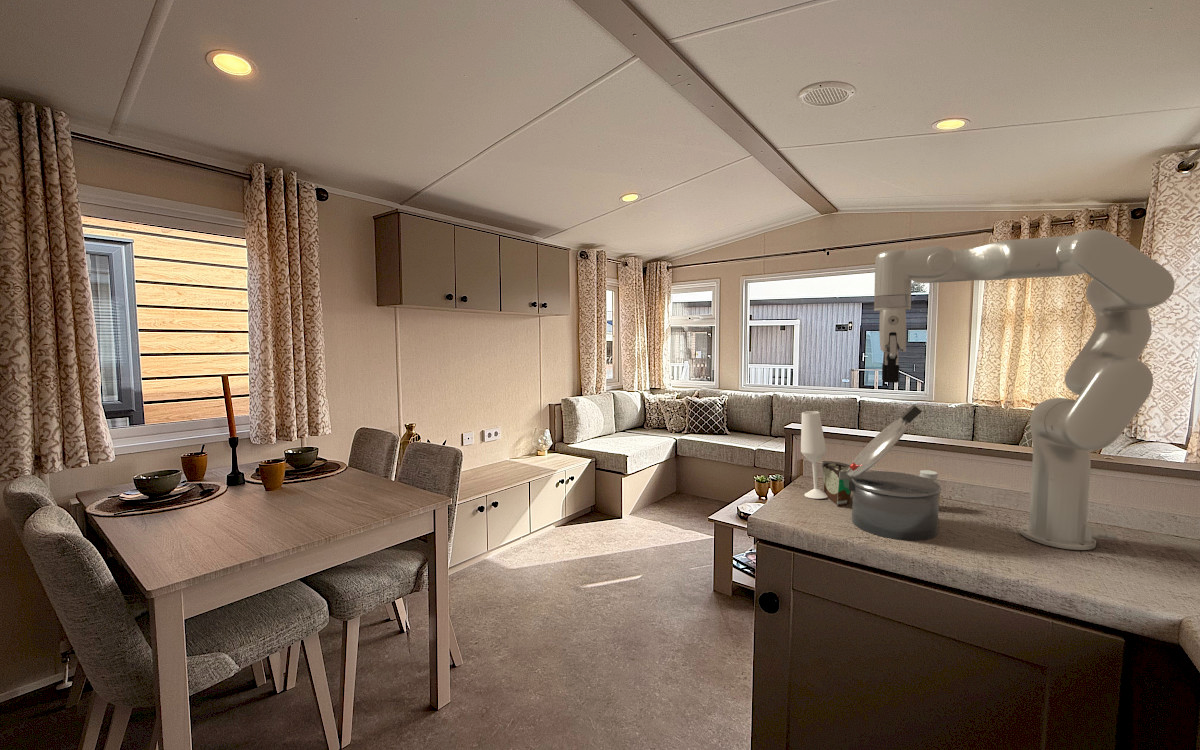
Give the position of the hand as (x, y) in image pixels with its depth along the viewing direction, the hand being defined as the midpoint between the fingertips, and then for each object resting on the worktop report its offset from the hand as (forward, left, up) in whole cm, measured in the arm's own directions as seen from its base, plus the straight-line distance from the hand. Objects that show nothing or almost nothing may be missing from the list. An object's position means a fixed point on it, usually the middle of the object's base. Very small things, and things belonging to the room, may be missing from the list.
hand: (890, 380), depth 121 cm
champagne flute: (+17, -17, -35) cm, 42 cm away
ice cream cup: (+10, -15, -36) cm, 40 cm away
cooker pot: (-2, 0, -35) cm, 35 cm away
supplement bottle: (-11, -18, -36) cm, 41 cm away
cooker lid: (+1, 0, -15) cm, 15 cm away
